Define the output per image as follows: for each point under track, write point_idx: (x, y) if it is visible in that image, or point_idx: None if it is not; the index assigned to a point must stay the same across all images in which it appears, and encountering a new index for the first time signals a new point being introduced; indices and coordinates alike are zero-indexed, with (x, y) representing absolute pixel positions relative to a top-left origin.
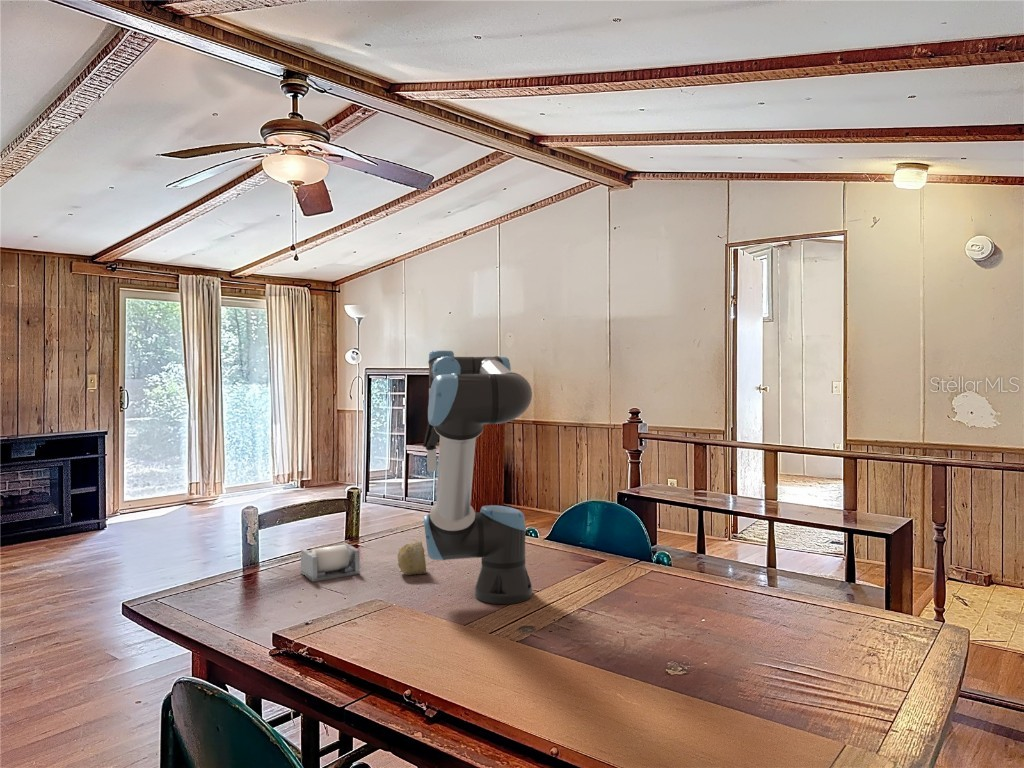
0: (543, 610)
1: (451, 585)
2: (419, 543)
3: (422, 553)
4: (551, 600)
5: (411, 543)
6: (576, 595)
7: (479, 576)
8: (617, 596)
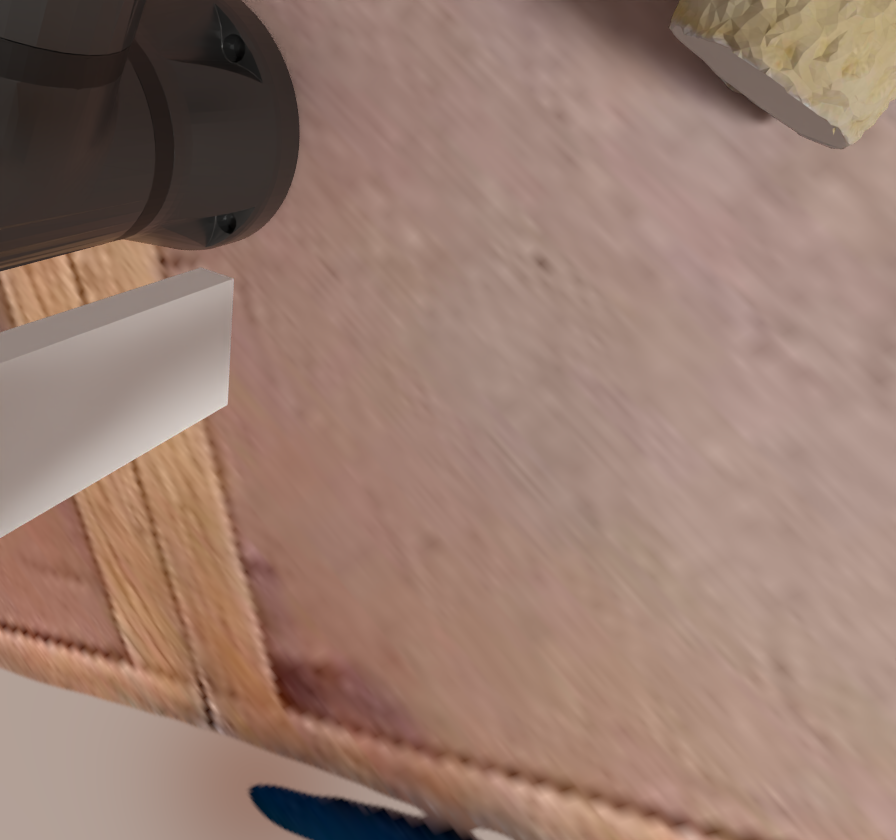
0: None
1: (447, 38)
2: (756, 38)
3: (686, 12)
4: None
5: (842, 3)
6: (65, 310)
7: (157, 2)
8: None
